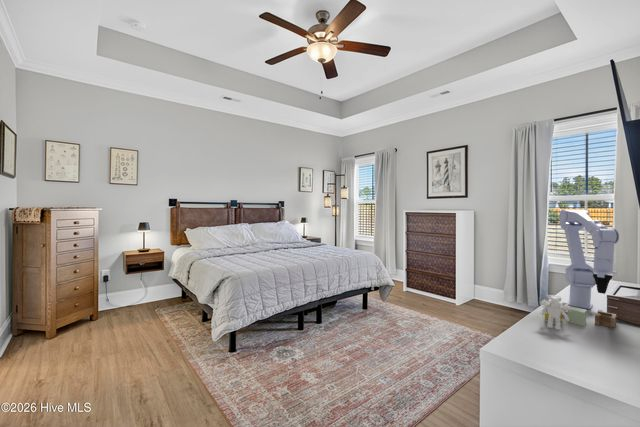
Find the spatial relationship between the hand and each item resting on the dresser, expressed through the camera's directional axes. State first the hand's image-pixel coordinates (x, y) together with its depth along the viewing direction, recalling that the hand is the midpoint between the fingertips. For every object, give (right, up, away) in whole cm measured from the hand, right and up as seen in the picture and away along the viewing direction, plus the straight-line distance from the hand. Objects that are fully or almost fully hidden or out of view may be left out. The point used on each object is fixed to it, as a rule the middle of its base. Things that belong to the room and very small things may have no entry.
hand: (601, 292), depth 124 cm
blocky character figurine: (-28, -10, -11) cm, 31 cm away
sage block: (-14, -10, -5) cm, 18 cm away
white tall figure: (-23, -10, -6) cm, 26 cm away
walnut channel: (-8, -10, -2) cm, 13 cm away
